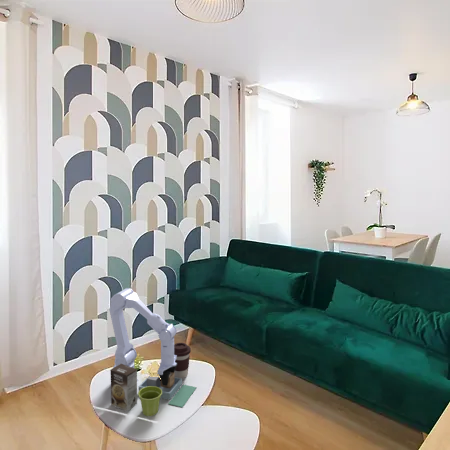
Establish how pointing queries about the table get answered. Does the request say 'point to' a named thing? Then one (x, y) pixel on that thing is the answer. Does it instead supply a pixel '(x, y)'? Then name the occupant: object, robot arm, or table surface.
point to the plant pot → (150, 399)
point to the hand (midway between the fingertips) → (167, 381)
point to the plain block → (153, 381)
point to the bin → (166, 392)
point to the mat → (182, 396)
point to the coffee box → (123, 387)
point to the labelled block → (170, 381)
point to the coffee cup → (182, 359)
